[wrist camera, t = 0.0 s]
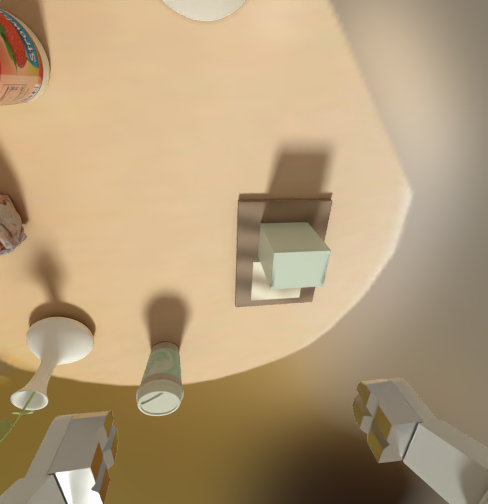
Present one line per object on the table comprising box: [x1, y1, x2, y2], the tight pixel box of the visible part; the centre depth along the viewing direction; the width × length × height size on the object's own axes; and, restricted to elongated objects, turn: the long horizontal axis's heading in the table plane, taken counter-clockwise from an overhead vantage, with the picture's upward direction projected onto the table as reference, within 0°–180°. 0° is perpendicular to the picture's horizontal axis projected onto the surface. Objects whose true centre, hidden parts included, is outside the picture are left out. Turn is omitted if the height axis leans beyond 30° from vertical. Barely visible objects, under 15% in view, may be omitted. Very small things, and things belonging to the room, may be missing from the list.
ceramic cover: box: [258, 222, 331, 289], centre depth 46 cm, size 6×8×10 cm
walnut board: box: [235, 199, 332, 307], centre depth 53 cm, size 22×16×1 cm
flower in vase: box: [0, 317, 94, 442], centre depth 45 cm, size 13×11×25 cm
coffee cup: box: [136, 342, 184, 416], centre depth 56 cm, size 8×8×12 cm
